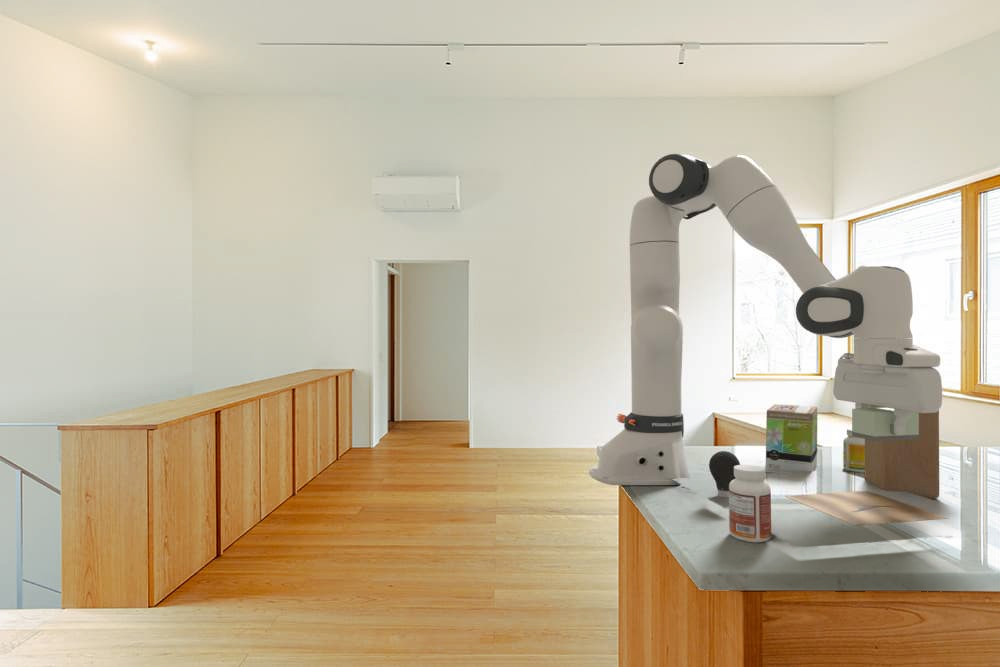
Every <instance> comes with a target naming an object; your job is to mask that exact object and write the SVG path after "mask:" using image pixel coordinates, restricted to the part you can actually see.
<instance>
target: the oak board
mask: <svg viewBox="0 0 1000 667" xmlns="http://www.w3.org/2000/svg"><path fill="white" fill-rule="evenodd" d="M785 497H786V498H788V499H791V500H793V501H795V502H798V503H800V504H803V505H805V506H808V507H810V508H813V509H814V510H817V511H820V512H822V513H824V514H827V515H829V516H832V517H833V518H837V519H838V520H841V521H843V522H845V523H848V524H851V525H852V526H867V525H881V524H892V523H893V524H895V523H907V522H919V521H933V520H947V519H950V518H949V517H947V516H945V515H944V516H943V515H941V514H938V513H935V512H932V511H929V510H927V509H923V508H921V507H920V508H919V507H917V506H914V505H911V504H909V503H905V502H902V501H899V500H897V499H896V500H895V499H894V498H890V497H887V496H884V495H881V494H878V493H876V492H873V491H869V490H862V491H861V490H860V491H859V490H857V491H844V492H830V493H829V492H825V493H812V494H810V493H809V494H796V495H795V494H794V495H793V494H792V495H785Z"/></svg>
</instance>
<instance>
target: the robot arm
mask: <svg viewBox="0 0 1000 667" xmlns="http://www.w3.org/2000/svg"><path fill="white" fill-rule="evenodd" d="M648 186H649V190H650V191H651V194H652V195H650V196H646V197H643V198H642V199H640V200H639V201H637V202H636V203H635V204H634V206H633V208H632V215H631V220H630V228H629V275H630V276H629V280H630V281H629V283H630V284H629V286H630V310H631V311H630V314H631V315H630V316H631V321H630V322H631V325H630V361H631V369H630V371H631V412H630V413H629V414H627V415H625V414H622V413H618V414H617V416H616V420H617V422H618V423H620V424H623V426H624V429H622V430H621V431H620V432H619V433H618V434H616V435H615V436H613V438H612V439H610V440H609V441H608V442H606V443H605V444H603V445H602V447H601V449H600V451H599V452H600V453H599V456H598V462H597V463H598V464H597V465H594V466H590V467H589V469H588V475H589V476H590V477H591V478H592V479H594V480H596V481H597V482H600V483H602V484H605V485H610V486H678V485H681V483H680V482H678V481H676V480H675V479H690V473H689V470H688V466H687V462H686V457H685V449H684V441H683V437H684V434H685V431H684V430H685V425H684V424H685V423H684V421H685V420H684V413H682V373H683V372H682V371H683V366H682V365H683V343H684V342H683V341H684V339H683V336H684V333H683V332H684V328H683V327H684V326H683V322H682V318H681V317H680V285H681V284H680V283H681V282H680V281H681V276H680V275H681V266H680V264H681V262H680V224H681V222H682V219H685V220H690V219H692V218H694V217H697V216H698V215H700V214H704V213H707V212H709V211H711V210H713V209H714V208H716V207H717V208H718V209H719V211H720V212H721V213H722V215H723V216H724V217H725V219H726V220H727V222H728V223H729V226H731V228H732V230H734V232H735V233H737V235H738V236H740V239H742V240H743V241H745V243H747V244H748V245H749V246H751V247H753V248H754V249H756V250H758V251H760V252H761V253H763V254H765V255H768V256H769V257H771V259H773V260H775V261H776V262H777V263H778V264H780V265H781V267H782V268H784V269H785V271H786V272H787V274H788V275H789V276H790V278H791V280H793V282H794V283H795V285H796V286H797V287H798V288H799V290H800V291H801V293H802V294H801V295H800V297H799V299H798V300H797V302H796V305H795V315H796V319H797V322H798V324H800V326H801V327H802V328H803V329H804V330H806V331H807V332H809V333H812V334H814V335H817V336H824V337H829V338H832V339H833V338H834V339H835V338H836V339H844V338H849V337H851V336H853V353H850V352H845V353H843V354H842V355H841V356H840V357H839V358H838V360H837V366H836V368H835V371H834V378H833V388H832V393H833V397H834V398H835V399H836V401H837V400H838V401H843V402H848V403H849V402H850V403H854V404H855V407H854V409H859V408H871V405H873V406H880V407H886V408H892V409H894V415H897V417H896V419H895V422H894V424H890V433H891V434H894V435H904V434H905V425H906V424H907V422H908V421H909V419H910V418H911V416H912V412H918V413H936V412H937V411H938V410H939V411H940V409H941V407H942V405H943V385H942V384H943V382H942V376H941V374H940V372H939V371H938V369H936V368H938V367H939V366H940V365H941V356H940V355H939V354H937V353H935V352H932V351H930V350H927V349H925V348H922V347H920V346H918V345H916V344H913V343H914V342H913V340H914V339H913V333H912V331H911V319H912V317H913V311H914V308H913V306H914V304H913V303H914V302H913V301H914V300H913V291H912V283H911V278H910V276H909V274H908V273H907V272H906V271H904V270H903V269H902V268H900V267H896V266H891V265H885V264H877V263H876V264H869V263H868V264H863V265H860V266H858V267H857V268H855V269H854V271H851V272H850V273H848V274H846V275H845V276H843V277H839V278H837V279H836V278H835V277H834V275H833V274H832V273H831V272H830V271H829V269H828V268H827V267H826V265H825V264H824V263H823V261H822V260H821V259H820V257H819V256H818V255H817V254H816V252H815V251H814V250H813V248H812V247H811V245H810V244H809V243H808V241H807V239H806V237H805V236H804V232H802V230H801V228H800V226H799V223H798V221H797V219H796V217H795V216H794V213H793V212H792V209H791V208H790V206H789V205H790V204H788V202H787V200H786V198H785V197H784V195H783V194H782V192H781V191H780V189H779V188H778V186H777V185H776V184H775V182H774V181H773V180H772V179H771V178H770V176H768V174H767V173H766V172H765V171H764V170H763V169H762V168H761V167H759V165H758V164H756V163H755V162H754V161H753V159H751V158H749V157H748V156H745V155H740V154H738V155H733V156H732V155H731V156H730V157H727V158H725V159H724V160H722V161H721V162H719V163H718V164H716V165H713V166H711V165H709V164H708V163H707V162H706V161H705V160H702V159H699V158H696V157H694V156H692V155H688V154H684V153H669V154H667V155H664V156H662V157H661V158H659V159H658V160H657V161H656V162H655V163H654V164H653V166H652V168H651V170H650V172H649V175H648Z"/></svg>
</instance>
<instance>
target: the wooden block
mask: <svg viewBox="0 0 1000 667" xmlns="http://www.w3.org/2000/svg"><path fill="white" fill-rule="evenodd" d="M871 408H886V407H880V406H873V405H871ZM864 479H865V480H866V481H868V482H869V483H871V484H873V485H875V487H877V488H879V489H881V490H884V491H890V492H891V491H892V492H907V493H909V494H913V495H915V496H920V497H922V498H926V499H929V500H935V499H938V498H940V409H939V410H938V411H937V412H936V413H919V439H913V440H888V441H872V440H868V439H865V472H864Z"/></svg>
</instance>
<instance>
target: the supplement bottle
mask: <svg viewBox="0 0 1000 667" xmlns="http://www.w3.org/2000/svg"><path fill="white" fill-rule="evenodd" d="M846 435H847V436H845V437H844V438H843V442H842V443H843V444H842V445H843V450H842V451H843V452H842V454H843V455H842V458H843V460H842V461H843V462H842V463H843V465H842V466H843V469H844V470H845V471H847V472H848V471H849V472H854V473H860V474H861V473H864V474H865V439H863V438H859V437H854V436H852V427H849V428H846Z"/></svg>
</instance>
